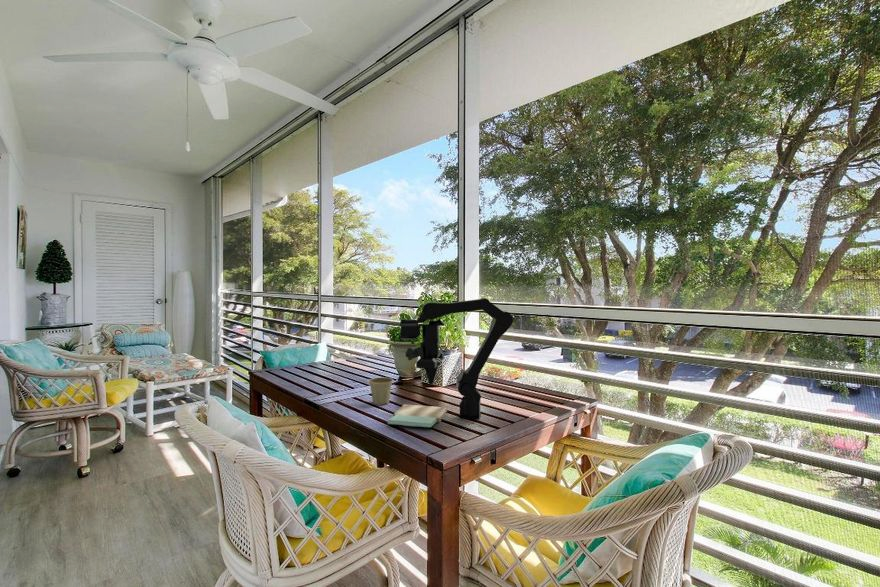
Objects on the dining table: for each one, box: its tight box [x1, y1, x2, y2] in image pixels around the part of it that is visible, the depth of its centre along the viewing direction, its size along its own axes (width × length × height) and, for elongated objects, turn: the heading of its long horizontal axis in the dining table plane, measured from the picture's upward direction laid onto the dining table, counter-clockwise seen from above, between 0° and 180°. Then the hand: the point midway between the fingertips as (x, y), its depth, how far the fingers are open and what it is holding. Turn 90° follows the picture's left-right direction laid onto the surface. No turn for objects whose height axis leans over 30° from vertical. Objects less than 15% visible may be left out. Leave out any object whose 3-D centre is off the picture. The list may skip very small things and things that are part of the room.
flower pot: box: [368, 377, 394, 405], centre depth 161 cm, size 9×9×9 cm
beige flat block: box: [392, 403, 448, 423], centre depth 146 cm, size 16×12×2 cm
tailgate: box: [387, 415, 438, 428], centre depth 136 cm, size 14×2×8 cm
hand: (431, 384), depth 144 cm, fingers closed
